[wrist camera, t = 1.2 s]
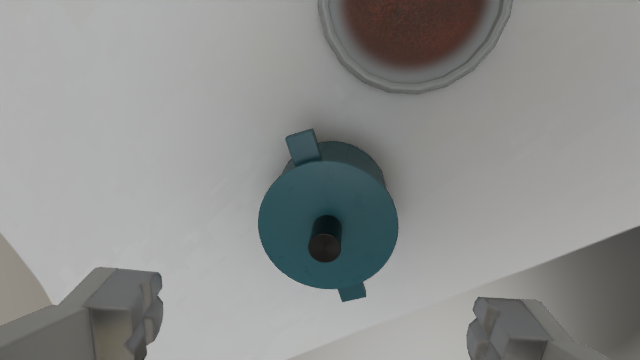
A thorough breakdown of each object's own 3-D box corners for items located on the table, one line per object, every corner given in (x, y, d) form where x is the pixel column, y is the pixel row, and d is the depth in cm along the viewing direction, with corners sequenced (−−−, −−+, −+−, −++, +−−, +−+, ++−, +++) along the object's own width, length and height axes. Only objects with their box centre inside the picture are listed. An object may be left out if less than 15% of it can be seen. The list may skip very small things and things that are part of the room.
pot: (361, 102, 40) (364, 115, 32) (403, 247, 45) (414, 290, 37) (256, 134, 42) (234, 155, 34) (306, 270, 47) (297, 316, 38)
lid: (376, 139, 33) (380, 154, 28) (411, 265, 36) (419, 296, 32) (241, 178, 35) (224, 198, 31) (286, 294, 38) (277, 327, 34)
